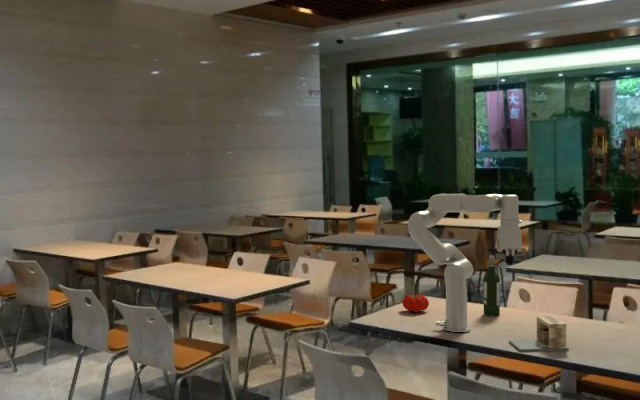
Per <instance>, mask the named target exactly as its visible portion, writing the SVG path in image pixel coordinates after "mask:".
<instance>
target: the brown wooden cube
mask: <svg viewBox="0 0 640 400" xmlns="http://www.w3.org/2000/svg"><path fill="white" fill-rule="evenodd" d="M538 342H540V343H541V344H542V345H549V328H538Z"/></svg>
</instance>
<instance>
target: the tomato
mask: <svg viewBox="0 0 640 400" xmlns="http://www.w3.org/2000/svg"><path fill="white" fill-rule="evenodd" d="M401 303H402V306H403V307H404V309H406V310H407V311H409V312H410V311H414V312H413V313H419V311H420V312H422V311H421V310H424V311H426V310H427V309H428V308H429V305H430V301H429V299H428V298H427V296H426V295H425V296H424V295H423V294H419V293H417V294H413V295H411V294H407V295H405V297H404V298H403V299H402V302H401Z"/></svg>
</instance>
